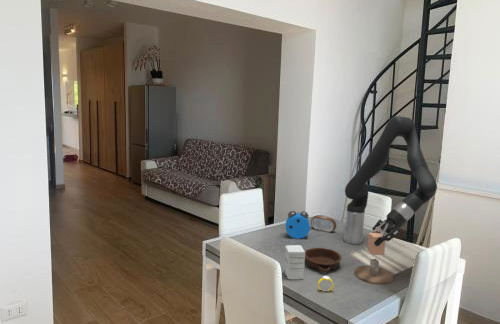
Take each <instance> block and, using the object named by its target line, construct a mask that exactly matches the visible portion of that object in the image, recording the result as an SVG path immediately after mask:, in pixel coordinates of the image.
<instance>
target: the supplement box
mask: <svg viewBox="0 0 500 324" xmlns="http://www.w3.org/2000/svg"><path fill="white" fill-rule="evenodd" d="M284 247H285V249H284V265H283V267H284V269H283V270H284V271H285V272H284V274H285V273H286V274H285V276H287V277H286V279H287V278H305V262H306V260H305V251H306V250H305V249H304V248H303V246H302V245H300V244H299V245H298V244H296V245H294V244H293V245H292V244H291V245H288V244H287V245H285V246H284Z"/></svg>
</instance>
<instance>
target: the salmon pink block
mask: <svg viewBox="0 0 500 324" xmlns="http://www.w3.org/2000/svg"><path fill="white" fill-rule="evenodd" d="M381 235H382V233H373V232H368V235H367V249H366V251H368V252H369V254H371V256H383V255H385V250H386V241H383V242H382V243H381V244H380V245H379V246H376V245H375V244H374V242H375V241H376V240H377V239H378V238H379V237H381Z"/></svg>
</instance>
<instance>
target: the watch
mask: <svg viewBox="0 0 500 324" xmlns="http://www.w3.org/2000/svg"><path fill="white" fill-rule="evenodd" d="M322 281H329V282H331V286H330V288H329V289H330V290H331V291H332V290H333V289H334V281H333V280H332V279H331V278H330V276H329V275H324V276H322V277H321V278H320V279H319V280H318V281H317V286H318V289H319V291H320V290H321V289H322V288H321V287H320V283H322ZM320 288H321V289H320Z"/></svg>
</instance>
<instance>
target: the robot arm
mask: <svg viewBox="0 0 500 324" xmlns="http://www.w3.org/2000/svg"><path fill="white" fill-rule="evenodd" d="M398 137H402V139H404V142H405V144H406V147H407V151H406V160H407V163H408V168H409V169H410V171H411V174H412V175H413V177H414V178H415V181H416V183H417V186H418V187H417V188H416V189H415V190H414V191H413V192H412V193H410V194H408V195H406V197H405V198H404V199H402V200H401V201H400V202H399V203H397V205H395V207H394V208H393V209H391V211H389V212H388V213H387V214H386V219H384V220H382V219H378V221H377V222H376V223H375V224H374V226H373V227H372V228H371V229H372V233H381V234H382V235H381V237H379V238H378V239H377V240H376V241H375V242H374V244H375V245H376V246H379V245H380V244H381V243H382V242H383V241H385V242H386V241H387V242H390V241H391V240H393V239H394V238H395V237H396V236H398V235H399V234H400V232H399V231H398V230H397V229H401V228H402V227H403V226H404V225H405V224H406V223H407V222H408V221H409V220H410V219H411V218H413V216H414V214H416V212H418V211H419V209H420V208H421V207H422V206H423V205H424V204H426V203H427V202H428V201H430V200H431V199H432V198H433V197H434V196H435V195H436V194H437V188H438V185H437V181H436V179H435V177H434V175H433V174H432V171H430V169H429V165H428V164H427V161H426V159H425V157H424V154H423V151H422V149H421V146H420V142H419V137H418V132H417V129H416V125H415V123H414V121H413V119H411V118H410V117H407V116H400V115H395V116H393V117H391V118H390V119H389V120H388V122H387V123H386V124H385V127H384V129H383V131H382V132H381V135H380V136H379V138H378V140H377V141H376V142H375V145H374V146H373V147H372V149H371V150H370V152H369V153H368V155H367V156H366V158H365V160H364V161H363V162H362V164H361V166H360V167H359V168H358V170H357V172H356V173H355V174H354V176H353V177H352V178H351V179H350V180H349V181H348V182H347V183H346V185H345V188H344V194H345V196H346V198H347V199H349V200H351V201H350V202H349V203H348V204H347V205H346V217H345V218H346V219H345V223H344V230H343V231H344V232H343V242H346V243H348V244H351V245H361V244H362V243H363V237H364V224H365V213H366V212H365V211H366V208H367V205H368V198H369V186H368V184H367V183H368V182H369V181H370V180H371V179H372V178H373V177H375V176H376V175H378V174H379V173H380V172H381V171H382V170H383V168H384V167H385V165H386V163H388V160H389V158H390V148H391V145H392V144H393V143H394V141H395V139H397V138H398Z"/></svg>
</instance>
